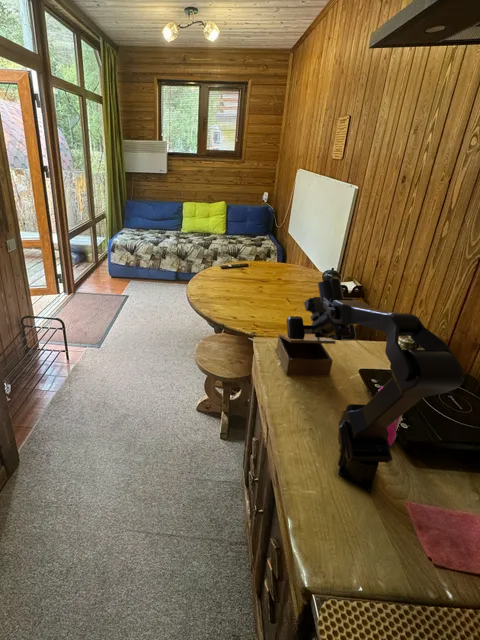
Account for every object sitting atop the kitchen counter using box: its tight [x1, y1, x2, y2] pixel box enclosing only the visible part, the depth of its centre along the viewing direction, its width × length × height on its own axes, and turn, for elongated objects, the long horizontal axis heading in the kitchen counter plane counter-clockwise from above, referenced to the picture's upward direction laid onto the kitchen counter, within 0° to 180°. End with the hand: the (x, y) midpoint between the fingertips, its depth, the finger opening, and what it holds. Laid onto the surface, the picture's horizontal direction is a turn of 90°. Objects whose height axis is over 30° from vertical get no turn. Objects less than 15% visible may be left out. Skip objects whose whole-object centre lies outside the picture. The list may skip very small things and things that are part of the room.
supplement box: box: [377, 385, 404, 448], centre depth 76 cm, size 6×6×12 cm
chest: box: [276, 335, 334, 377], centre depth 102 cm, size 13×14×6 cm
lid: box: [278, 330, 336, 345], centre depth 100 cm, size 13×14×4 cm
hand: (310, 334), depth 96 cm, fingers open, 9 cm apart
